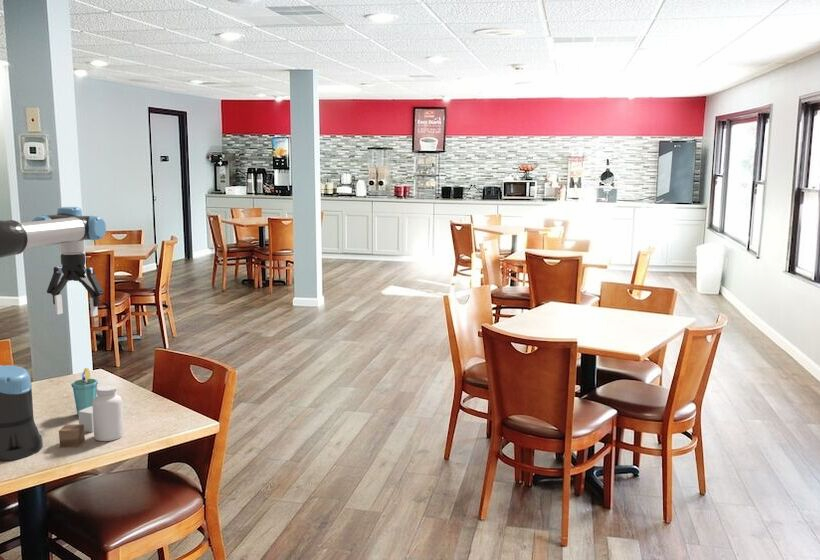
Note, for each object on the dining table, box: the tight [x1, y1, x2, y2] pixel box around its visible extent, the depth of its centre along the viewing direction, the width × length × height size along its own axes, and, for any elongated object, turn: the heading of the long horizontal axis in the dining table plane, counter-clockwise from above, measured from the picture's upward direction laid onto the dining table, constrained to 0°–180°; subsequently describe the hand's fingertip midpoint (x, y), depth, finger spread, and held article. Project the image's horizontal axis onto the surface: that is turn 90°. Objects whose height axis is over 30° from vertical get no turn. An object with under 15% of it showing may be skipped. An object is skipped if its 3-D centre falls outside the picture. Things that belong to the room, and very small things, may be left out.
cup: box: [70, 367, 99, 417], centre depth 232 cm, size 14×8×15 cm, turn 24°
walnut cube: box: [58, 423, 86, 448], centre depth 209 cm, size 5×5×5 cm
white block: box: [78, 406, 94, 434], centre depth 221 cm, size 5×5×6 cm
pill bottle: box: [93, 384, 124, 442], centre depth 214 cm, size 8×8×15 cm
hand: (76, 315), depth 250 cm, fingers open, 13 cm apart
